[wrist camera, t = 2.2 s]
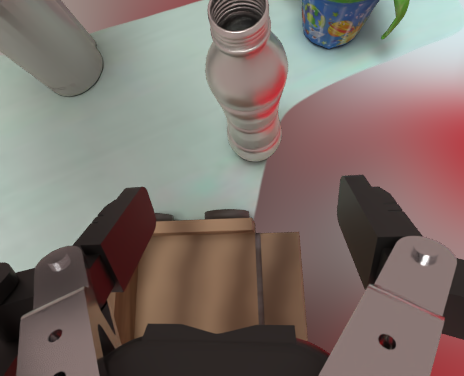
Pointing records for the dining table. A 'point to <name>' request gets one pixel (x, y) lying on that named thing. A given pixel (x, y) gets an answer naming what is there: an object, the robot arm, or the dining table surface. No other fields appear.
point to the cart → (213, 277)
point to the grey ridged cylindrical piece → (247, 75)
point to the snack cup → (341, 19)
